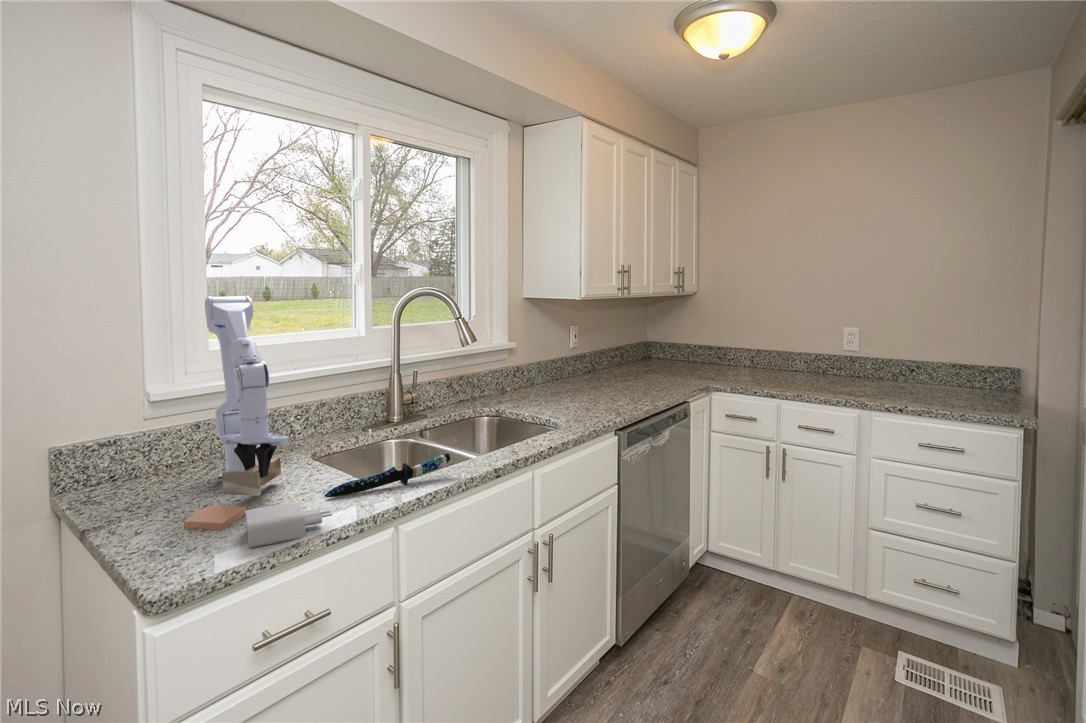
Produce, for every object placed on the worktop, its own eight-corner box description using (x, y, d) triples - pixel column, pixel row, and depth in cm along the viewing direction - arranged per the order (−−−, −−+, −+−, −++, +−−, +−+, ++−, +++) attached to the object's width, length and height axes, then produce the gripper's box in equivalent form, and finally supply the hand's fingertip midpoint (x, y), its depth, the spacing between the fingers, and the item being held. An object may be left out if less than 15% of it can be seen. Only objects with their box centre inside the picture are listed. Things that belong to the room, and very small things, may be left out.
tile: (210, 505, 121) (183, 521, 114) (246, 507, 121) (222, 522, 113) (210, 513, 122) (184, 529, 114) (247, 515, 121) (223, 531, 113)
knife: (450, 468, 146) (448, 451, 146) (454, 471, 144) (452, 454, 143) (323, 503, 131) (320, 484, 131) (326, 508, 129) (323, 488, 128)
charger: (336, 533, 112) (248, 550, 105) (327, 516, 120) (246, 531, 113) (334, 510, 111) (247, 525, 104) (326, 494, 119) (244, 508, 112)
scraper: (260, 473, 139) (259, 453, 139) (292, 474, 139) (291, 454, 138) (223, 494, 126) (221, 472, 125) (258, 495, 125) (257, 473, 124)
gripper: (211, 420, 126) (215, 480, 128) (275, 422, 125) (278, 483, 127) (231, 413, 133) (235, 470, 135) (292, 414, 132) (295, 472, 134)
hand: (257, 475), depth 131 cm, fingers closed on scraper, 2 cm apart
